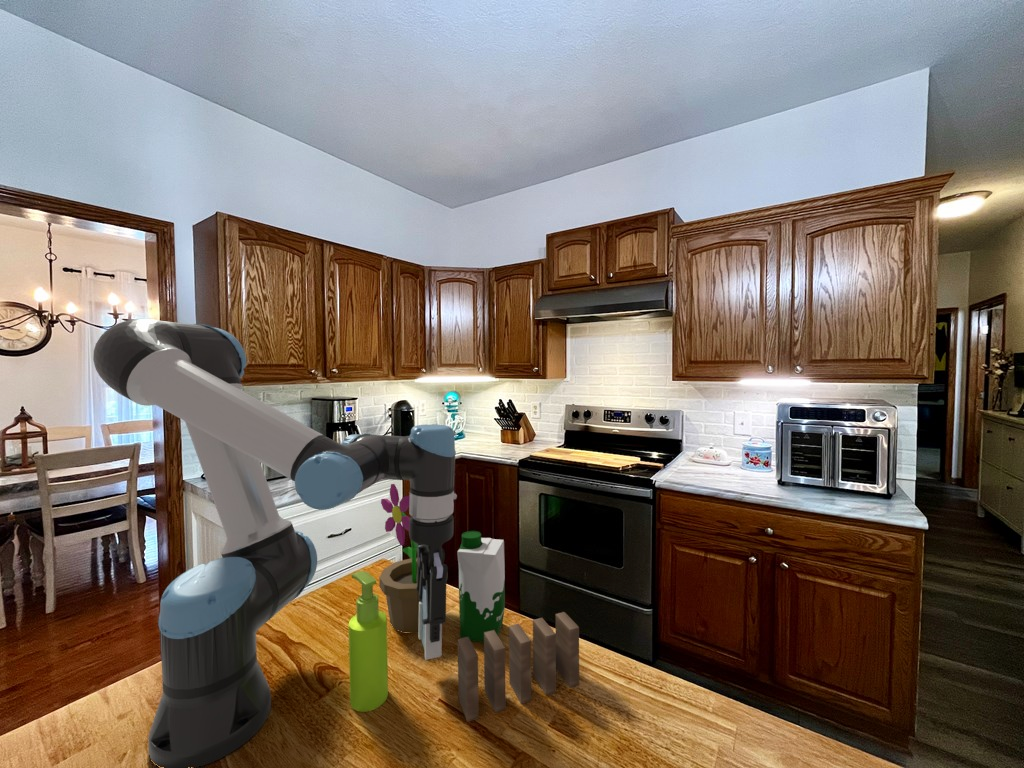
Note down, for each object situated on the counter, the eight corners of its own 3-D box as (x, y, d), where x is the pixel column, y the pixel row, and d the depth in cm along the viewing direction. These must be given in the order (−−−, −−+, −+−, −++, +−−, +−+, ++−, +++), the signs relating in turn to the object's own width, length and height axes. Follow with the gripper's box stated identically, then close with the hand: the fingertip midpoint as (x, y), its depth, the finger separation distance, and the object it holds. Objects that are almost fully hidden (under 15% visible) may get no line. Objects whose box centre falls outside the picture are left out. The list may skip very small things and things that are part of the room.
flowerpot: (367, 620, 92) (364, 481, 91) (422, 593, 103) (420, 469, 101) (405, 649, 82) (403, 495, 81) (461, 617, 93) (460, 480, 92)
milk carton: (467, 616, 93) (466, 525, 92) (508, 621, 91) (507, 528, 91) (454, 642, 84) (453, 542, 84) (499, 647, 83) (498, 545, 82)
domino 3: (494, 712, 67) (494, 650, 67) (484, 690, 72) (484, 632, 71) (505, 709, 68) (505, 647, 67) (494, 687, 72) (494, 629, 72)
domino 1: (427, 658, 72) (428, 600, 72) (421, 640, 77) (422, 586, 76) (437, 655, 73) (439, 598, 72) (431, 638, 78) (432, 584, 77)
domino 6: (569, 687, 72) (569, 629, 72) (555, 668, 77) (555, 614, 77) (579, 684, 73) (579, 627, 73) (564, 665, 78) (564, 611, 77)
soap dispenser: (374, 676, 75) (372, 564, 74) (394, 697, 70) (392, 578, 70) (341, 694, 71) (338, 575, 70) (360, 718, 66) (357, 591, 65)
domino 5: (546, 695, 71) (546, 636, 70) (533, 675, 75) (532, 619, 75) (555, 692, 71) (555, 633, 71) (542, 672, 76) (542, 617, 75)
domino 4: (521, 704, 69) (520, 643, 68) (509, 683, 73) (508, 626, 73) (531, 700, 70) (531, 640, 69) (518, 680, 74) (518, 623, 74)
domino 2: (467, 722, 65) (466, 658, 65) (458, 698, 70) (457, 639, 70) (478, 718, 66) (477, 655, 66) (468, 695, 71) (468, 636, 70)
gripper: (467, 531, 67) (464, 675, 68) (441, 497, 84) (438, 614, 85) (419, 537, 64) (417, 688, 65) (401, 501, 81) (400, 621, 82)
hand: (429, 646), depth 75 cm, fingers closed on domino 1, 5 cm apart
